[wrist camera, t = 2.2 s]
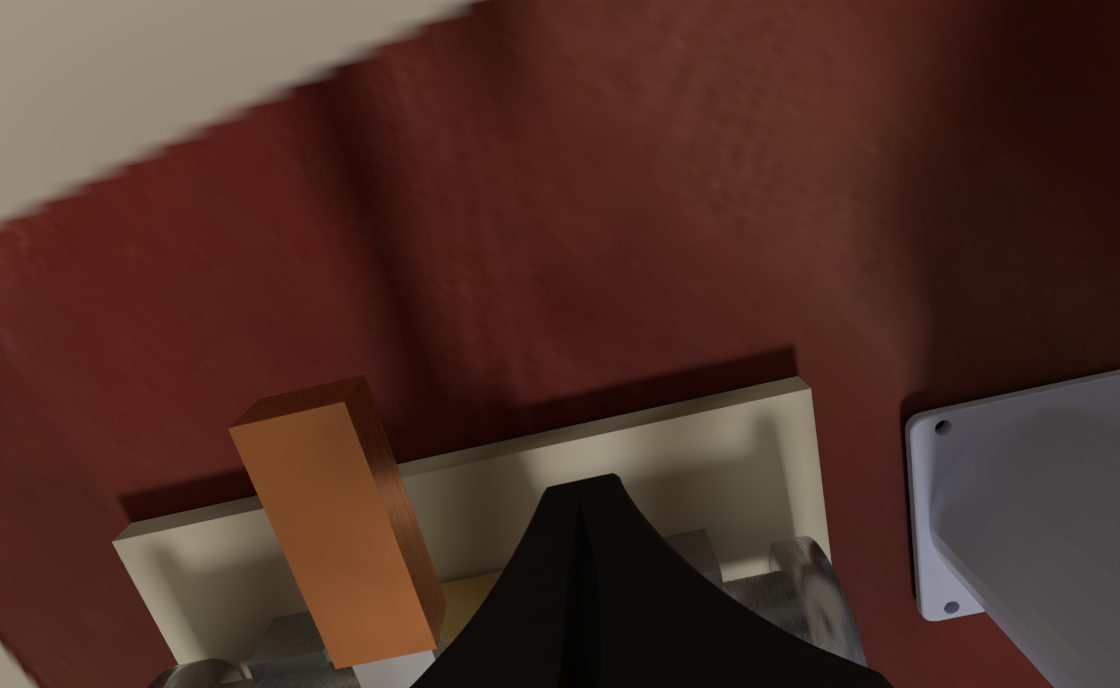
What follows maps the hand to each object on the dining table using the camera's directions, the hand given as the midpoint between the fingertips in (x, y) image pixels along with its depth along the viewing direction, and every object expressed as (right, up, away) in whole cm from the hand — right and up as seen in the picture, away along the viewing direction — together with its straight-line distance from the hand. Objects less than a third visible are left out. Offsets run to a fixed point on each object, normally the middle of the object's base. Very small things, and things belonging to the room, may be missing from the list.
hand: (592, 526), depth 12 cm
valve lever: (-4, -3, +2) cm, 5 cm away
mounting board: (-3, -6, +11) cm, 12 cm away
